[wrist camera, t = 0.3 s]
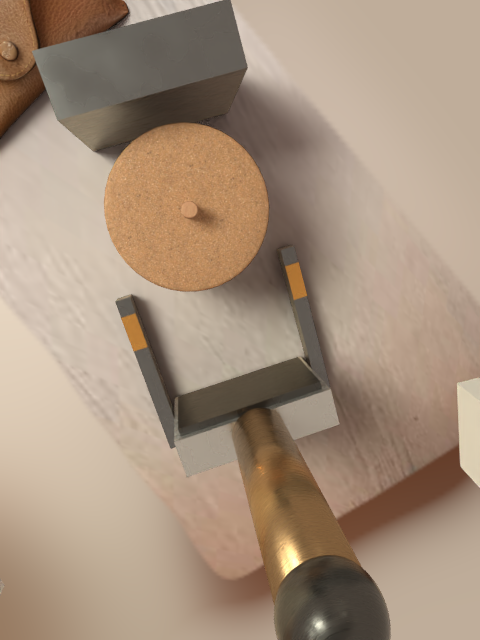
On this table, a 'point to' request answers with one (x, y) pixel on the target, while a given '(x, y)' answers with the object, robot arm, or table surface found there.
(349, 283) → the table surface
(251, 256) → the lidded jar
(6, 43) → the sunglasses case
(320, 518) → the gold upright rod
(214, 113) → the bench
